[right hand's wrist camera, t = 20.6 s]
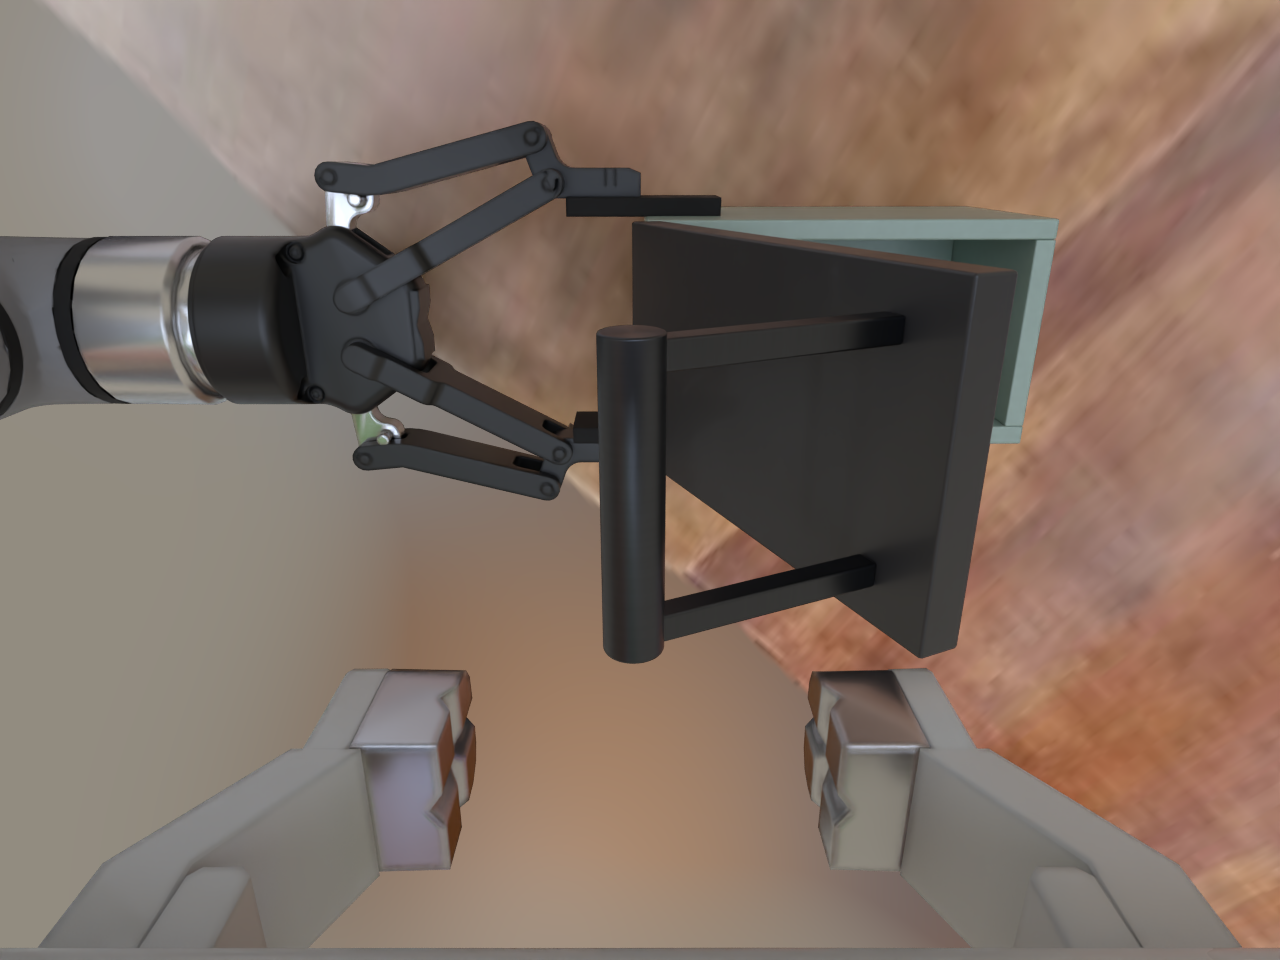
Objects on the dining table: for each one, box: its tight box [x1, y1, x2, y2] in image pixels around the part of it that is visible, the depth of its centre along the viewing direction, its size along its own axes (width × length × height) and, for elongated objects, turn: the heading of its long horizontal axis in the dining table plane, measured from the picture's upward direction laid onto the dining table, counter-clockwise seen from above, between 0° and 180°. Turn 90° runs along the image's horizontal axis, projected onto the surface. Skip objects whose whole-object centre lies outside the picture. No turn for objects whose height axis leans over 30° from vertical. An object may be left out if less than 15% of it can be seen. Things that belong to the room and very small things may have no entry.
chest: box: [644, 206, 1059, 444], centre depth 38 cm, size 16×9×10 cm, turn 90°
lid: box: [596, 221, 1018, 664], centre depth 24 cm, size 17×9×9 cm
